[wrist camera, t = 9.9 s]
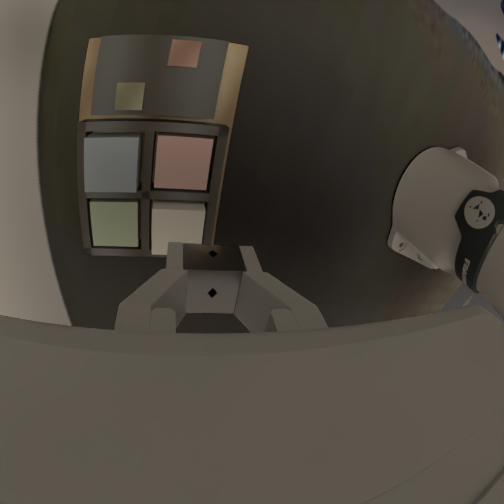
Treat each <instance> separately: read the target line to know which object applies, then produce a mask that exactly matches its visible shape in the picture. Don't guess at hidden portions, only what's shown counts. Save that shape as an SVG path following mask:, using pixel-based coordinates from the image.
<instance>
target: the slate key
mask: <svg viewBox="0 0 504 504" xmlns="http://www.w3.org/2000/svg"><path fill="white" fill-rule="evenodd" d="M141 145H142V133H92V134H90V135H89V136H87V137H85V138H84V185H85V192H132V193H136V191H137V189H138V186H139V178H140V159H141Z"/></svg>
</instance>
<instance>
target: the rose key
mask: <svg viewBox="0 0 504 504" xmlns="http://www.w3.org/2000/svg"><path fill="white" fill-rule="evenodd" d="M213 140H214V139H213V138H212V136H211V135H203V134H191V133H176V132H159V135H158V142H157V152H156V164H155V178H154V188H173V189H193V190H206V188H207V180H208V173H209V166H210V160H211V153H212V147H213Z"/></svg>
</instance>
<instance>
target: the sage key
mask: <svg viewBox="0 0 504 504" xmlns="http://www.w3.org/2000/svg"><path fill="white" fill-rule="evenodd" d="M90 214H91V226H92V235H93V244H94V246H125V247H138V245H139V239H140V199H125V198H92V199H91V200H90Z"/></svg>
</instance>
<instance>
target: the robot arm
mask: <svg viewBox="0 0 504 504" xmlns="http://www.w3.org/2000/svg"><path fill="white" fill-rule="evenodd" d="M387 244H388V247H390V248H391V249H392V250H394V251H396V252H398V253H400V254H402V255H404V256H406V257H408V258H410V259H412V260H414V261H416V262H418V263H420V264H422V265H424V266H426V267H428V268H430V269H434V268H435V269H437V268H440V269H441V270H443V271H445V272H447V273H449V274H452V275H457V277H458V278H459V279H460V280H461V281H463V283H464V284H465V285H466V286H467V287H468V288H469V289H471V290H472V291H473V292H475V293H480V294H481V295H482V296H483V297H484V298H485V299H486V300H487V301H488V303H489V304H490V305H491V306H492V307H493V308H494V309H495V310H496V311H497V313H498V314H499V315H500V316H501V317H502V318H503V320H504V191H503V190H500V188H499V184H498V180H497V179H496V177H494V176H493V175H492V174H490V173H489V172H487V171H486V170H484V169H483V168H481V167H480V166H478V165H477V164H475V163H474V162H472V161H470V160H469V159H467V154H466V151H465V150H464V149H462V148H460V147H455V148H453V149H450V150H449V149H445V148H442V147H433V148H429V149H427V150H425V151H423V152H422V153H421V154H419V155H418V156H417V157H416V158H415V159H414V160H413V161H412V162H411V164H410V165H409V166H408V168H407V169H406V171H405V172H404V174H403V176H402V178H401V180H400V182H399V185H398V187H397V190H396V194H395V197H394V202H393V224H392V228H391V231H390V234H389V237H388V242H387ZM186 313H234V315H235V316H236V317H237V318H238V319H239V320H240V321H241V322H242V324H243V325H244V326H245V327H246V328H247V329H248V330H249V331H250V332H251V333H226V334H188V333H176V327H177V326H178V324H179V323H180V322H181V320H182V319H183V317H184V316H185V315H186ZM0 504H504V324H503V323H502V322H501V321H500V320H499V319H498V318H496V317H495V316H494V315H492V314H491V313H490V312H488V311H486V310H485V309H483V308H482V307H480V306H478V305H470V306H466V307H461V308H457V309H452V310H447V311H442V312H437V313H432V314H426V315H421V316H415V317H409V318H403V319H396V320H390V321H383V322H375V323H368V324H360V325H351V326H342V327H332V328H328V326H327V324H326V322H325V320H324V318H323V316H322V315H321V313H320V311H319V309H318V307H317V306H316V305H314V304H313V303H311V302H310V301H308V300H307V299H305V298H304V297H302V296H301V295H300V294H298V293H297V292H295V291H294V290H292V289H291V288H289V287H288V286H286V285H285V284H283V283H282V282H280V281H279V280H277V279H276V278H275V277H273V276H272V275H270V274H269V273H267V272H263V271H262V268H261V266H260V263H259V261H258V258H257V256H256V253H255V251H254V248H253V247H252V246H234V245H210V244H196V243H182V242H169V243H168V250H167V262H166V269H161V270H160V271H159V272H157V273H156V274H155V275H154V276H153V277H151V278H150V279H149V280H148V281H146V282H145V283H144V284H143V285H142V286H141V287H139V288H138V289H137V290H136V291H135V292H133V293H132V294H131V295H130V296H129V297H127V298H126V299H125V300H124V301H123V302H122V303H120V304H119V308H118V313H117V318H116V323H115V329H114V330H105V329H94V328H84V327H75V326H66V325H58V324H50V323H44V322H37V321H31V320H24V319H18V318H13V317H8V316H2V315H0Z"/></svg>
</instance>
